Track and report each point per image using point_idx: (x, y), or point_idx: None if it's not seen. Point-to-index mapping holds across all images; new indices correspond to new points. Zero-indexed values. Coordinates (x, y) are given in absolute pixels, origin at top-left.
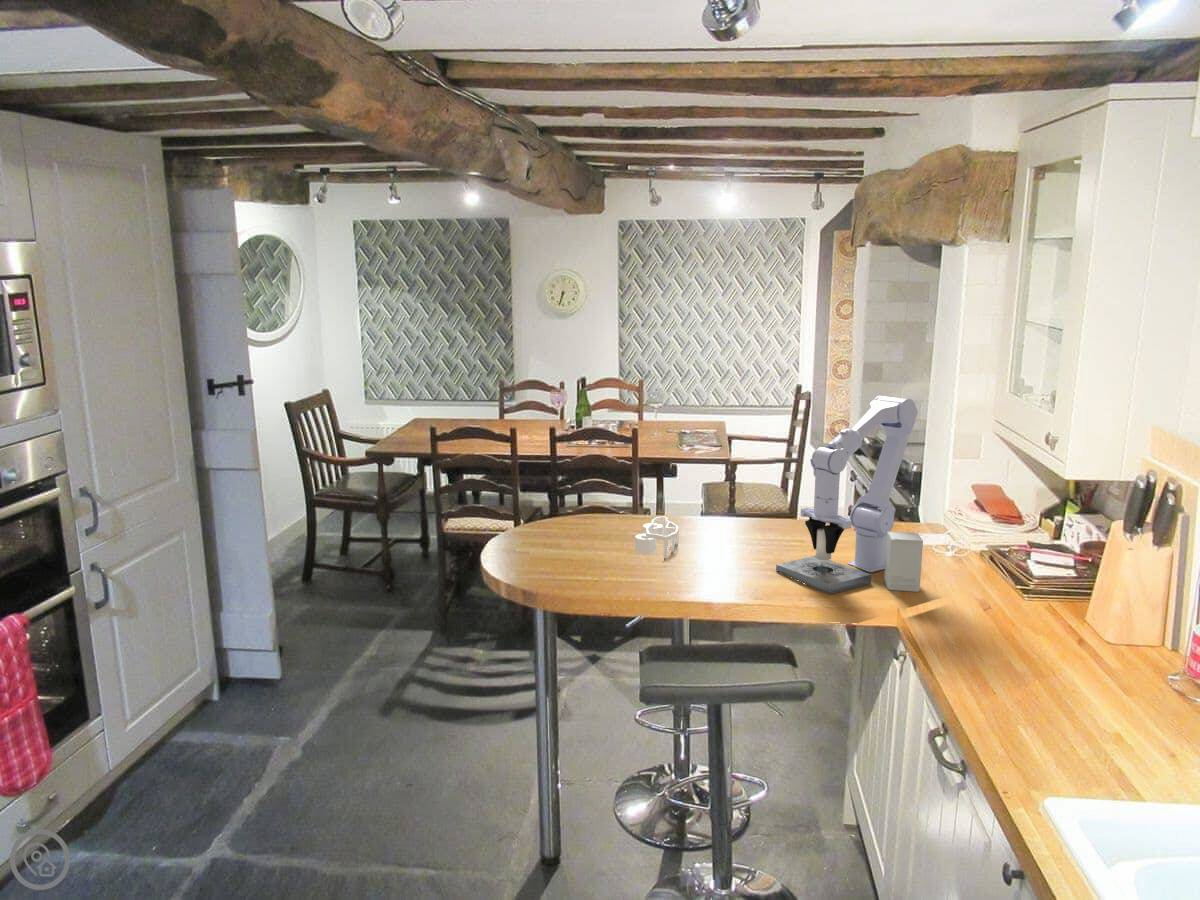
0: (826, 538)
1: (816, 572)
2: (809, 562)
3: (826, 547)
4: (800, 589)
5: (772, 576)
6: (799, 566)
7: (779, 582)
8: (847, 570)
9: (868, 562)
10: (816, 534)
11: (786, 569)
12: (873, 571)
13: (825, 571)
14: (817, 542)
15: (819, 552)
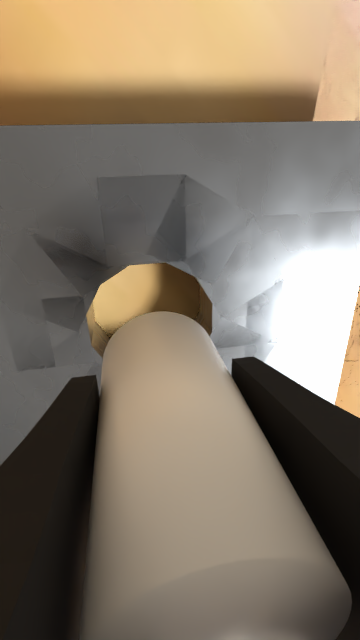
0: (38, 496)
1: (124, 248)
2: (280, 336)
3: (74, 402)
4: (47, 21)
5: (335, 64)
6: (269, 235)
7: (232, 2)
8: None
9: None
10: (310, 486)
11: (294, 123)
12: None
13: None
14: (208, 392)
15: (153, 339)
